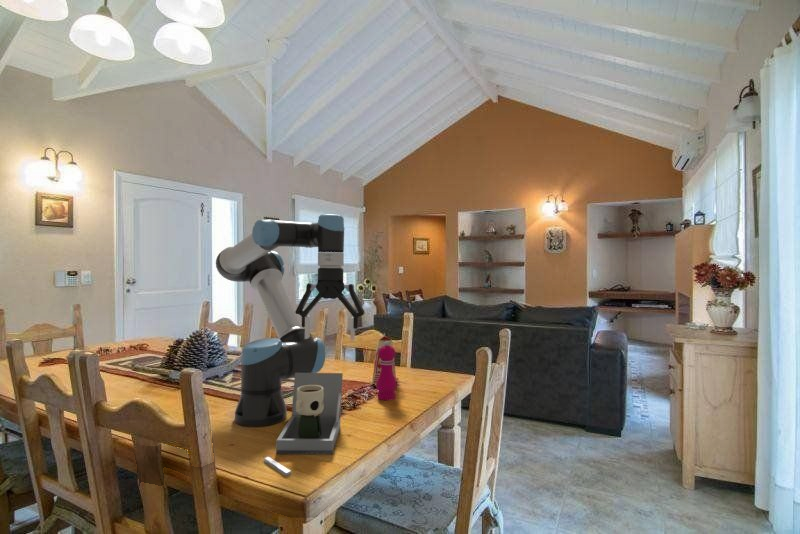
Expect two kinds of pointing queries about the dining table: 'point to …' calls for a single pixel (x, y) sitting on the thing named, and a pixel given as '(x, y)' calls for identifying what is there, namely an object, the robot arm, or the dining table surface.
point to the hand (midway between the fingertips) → (329, 338)
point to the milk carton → (377, 359)
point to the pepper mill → (386, 373)
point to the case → (329, 417)
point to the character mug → (309, 410)
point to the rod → (277, 466)
